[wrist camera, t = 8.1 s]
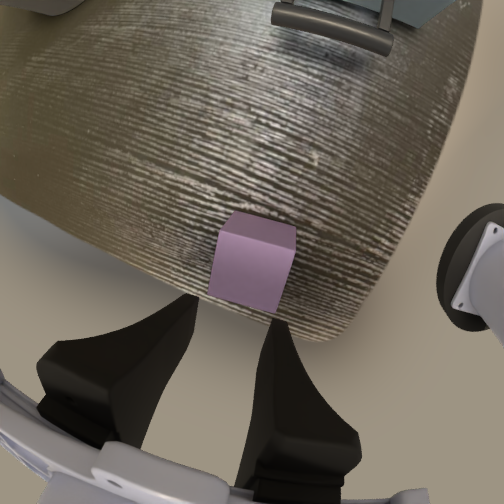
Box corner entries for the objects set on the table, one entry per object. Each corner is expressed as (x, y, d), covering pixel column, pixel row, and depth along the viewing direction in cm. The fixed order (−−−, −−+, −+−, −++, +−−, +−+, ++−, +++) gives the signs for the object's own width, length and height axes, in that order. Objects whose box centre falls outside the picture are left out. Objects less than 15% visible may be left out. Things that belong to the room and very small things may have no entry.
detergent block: (296, 226, 20) (296, 250, 16) (279, 281, 22) (275, 314, 18) (234, 209, 21) (219, 229, 16) (222, 265, 22) (206, 295, 18)
